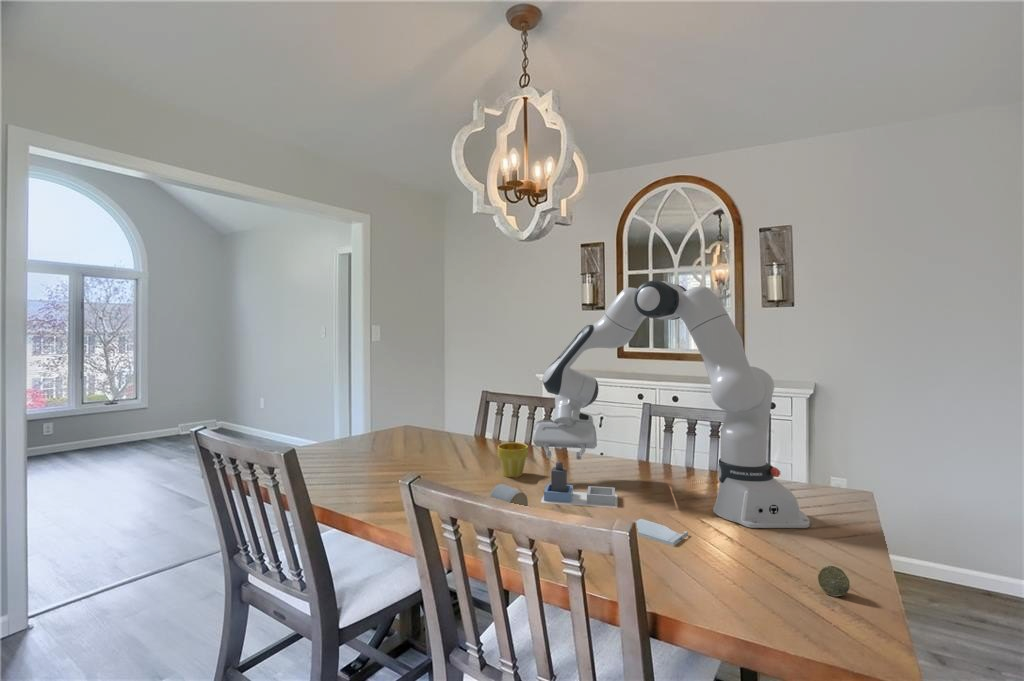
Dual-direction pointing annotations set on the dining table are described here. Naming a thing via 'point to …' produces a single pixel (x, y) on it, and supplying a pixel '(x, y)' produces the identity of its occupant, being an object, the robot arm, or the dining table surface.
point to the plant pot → (512, 458)
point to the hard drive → (659, 532)
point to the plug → (559, 478)
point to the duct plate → (582, 497)
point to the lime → (833, 581)
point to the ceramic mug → (509, 495)
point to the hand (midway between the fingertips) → (563, 458)
